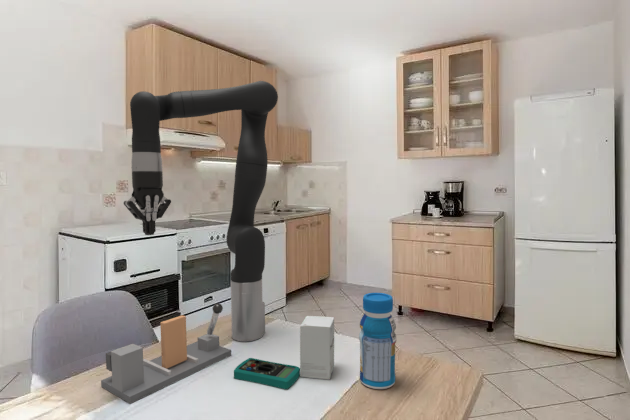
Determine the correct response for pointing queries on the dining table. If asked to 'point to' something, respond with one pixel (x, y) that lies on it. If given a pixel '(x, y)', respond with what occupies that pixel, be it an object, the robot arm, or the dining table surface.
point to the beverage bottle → (377, 342)
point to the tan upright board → (173, 341)
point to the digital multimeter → (267, 373)
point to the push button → (108, 361)
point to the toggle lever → (214, 318)
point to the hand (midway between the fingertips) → (149, 234)
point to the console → (157, 368)
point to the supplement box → (317, 347)
